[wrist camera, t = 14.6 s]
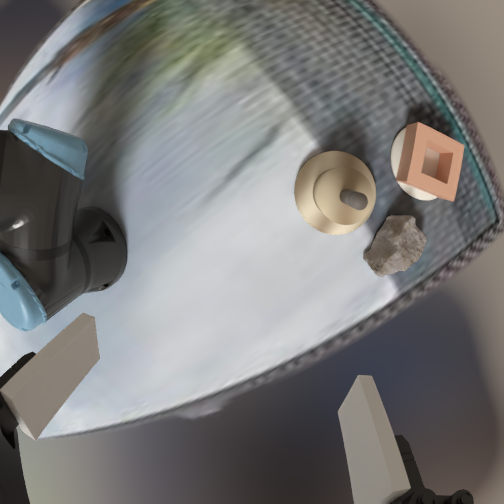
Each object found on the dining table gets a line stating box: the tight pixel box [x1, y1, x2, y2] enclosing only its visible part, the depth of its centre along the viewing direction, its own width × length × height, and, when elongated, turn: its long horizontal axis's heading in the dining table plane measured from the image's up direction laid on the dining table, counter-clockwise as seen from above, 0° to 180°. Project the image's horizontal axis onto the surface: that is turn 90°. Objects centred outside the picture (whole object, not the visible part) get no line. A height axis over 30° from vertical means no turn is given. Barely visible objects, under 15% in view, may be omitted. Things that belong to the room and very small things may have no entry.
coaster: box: [390, 127, 440, 200], centre depth 35 cm, size 12×12×1 cm
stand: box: [294, 151, 376, 235], centre depth 32 cm, size 12×12×13 cm
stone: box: [363, 215, 426, 277], centre depth 37 cm, size 8×10×6 cm
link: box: [396, 122, 464, 201], centre depth 33 cm, size 9×9×4 cm
